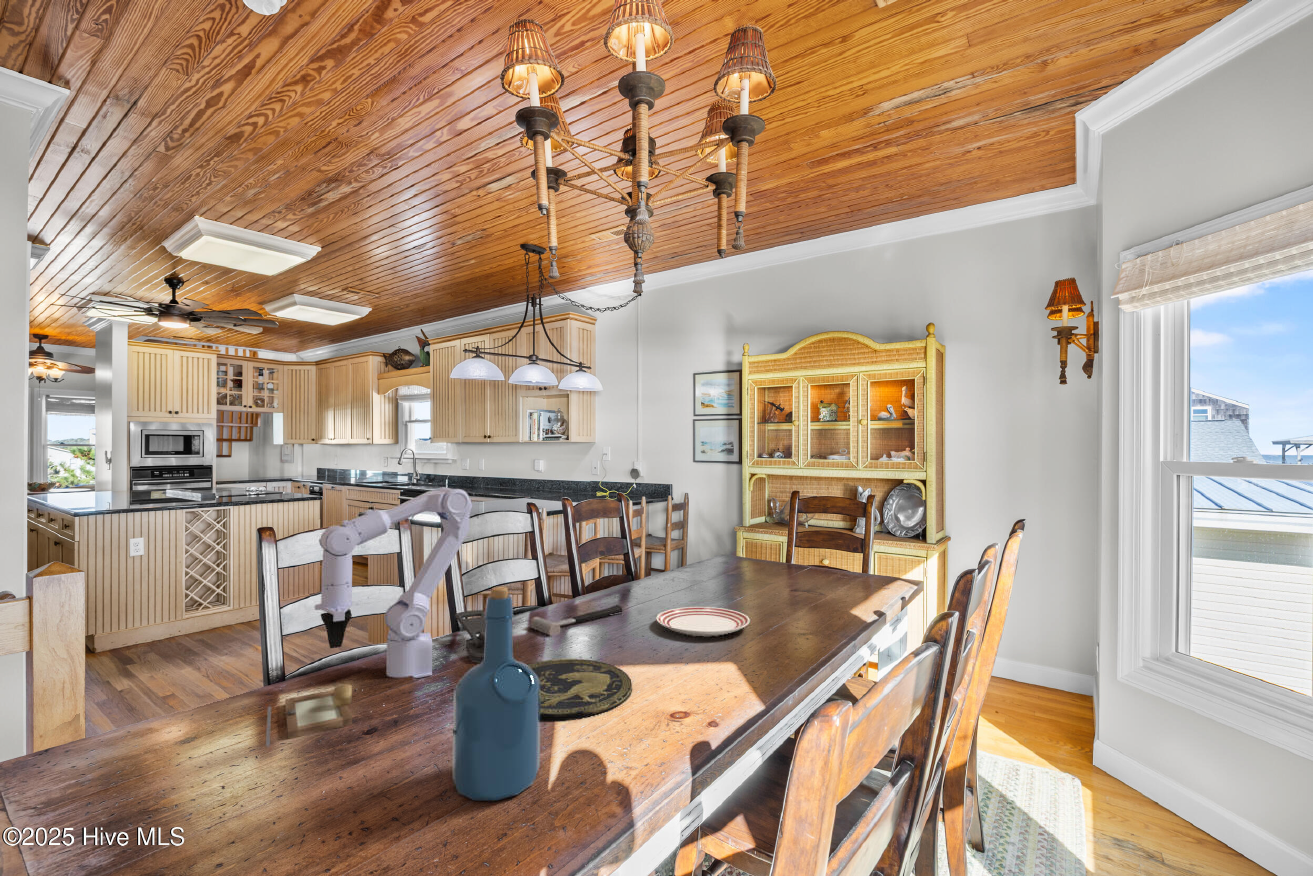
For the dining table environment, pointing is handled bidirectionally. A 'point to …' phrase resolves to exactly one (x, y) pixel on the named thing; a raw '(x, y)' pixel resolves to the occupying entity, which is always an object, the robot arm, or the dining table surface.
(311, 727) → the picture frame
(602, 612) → the rubber mallet
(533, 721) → the wine bottle
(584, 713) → the decorative plate
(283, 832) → the dining table surface
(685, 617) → the dinner plate
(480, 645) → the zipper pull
